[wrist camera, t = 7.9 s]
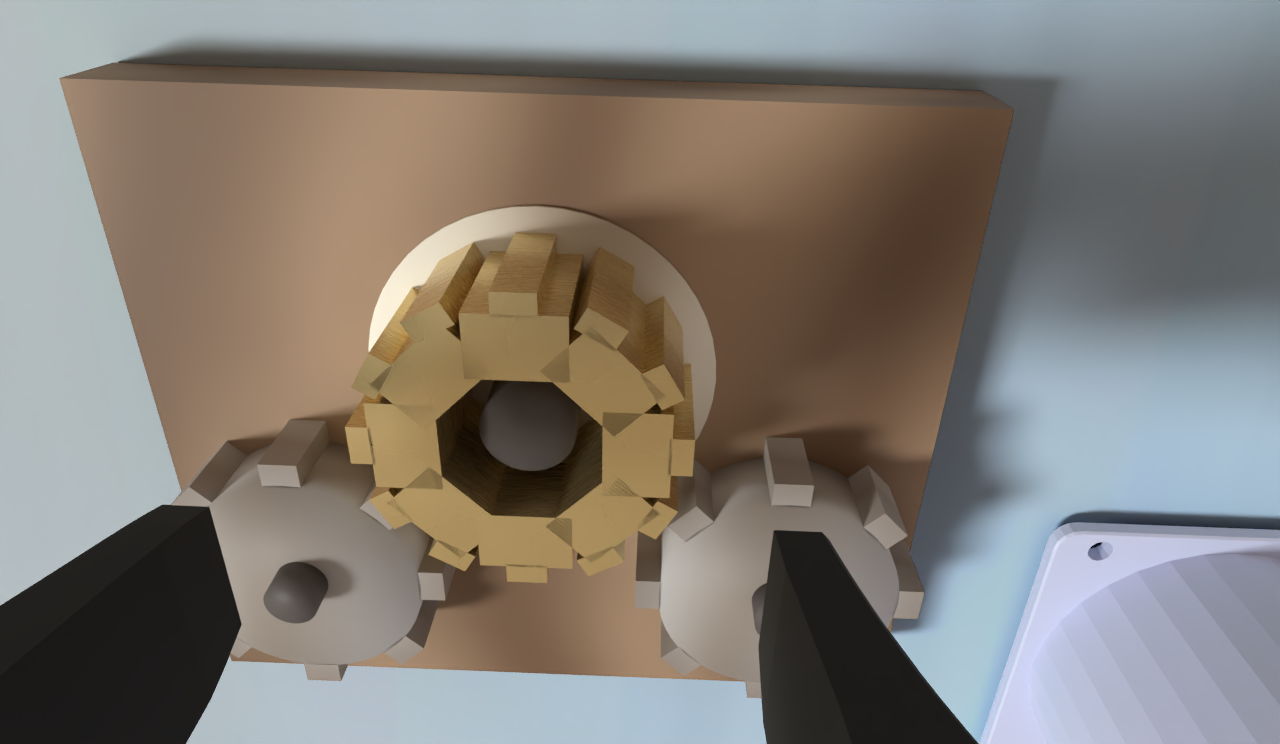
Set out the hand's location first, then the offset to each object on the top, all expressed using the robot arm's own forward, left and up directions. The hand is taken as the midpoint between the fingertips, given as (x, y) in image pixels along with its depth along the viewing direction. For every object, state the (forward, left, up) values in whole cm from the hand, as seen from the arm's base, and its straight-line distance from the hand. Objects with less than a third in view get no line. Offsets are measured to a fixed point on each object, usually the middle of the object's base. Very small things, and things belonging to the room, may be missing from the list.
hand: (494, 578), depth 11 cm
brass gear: (0, 0, -5) cm, 5 cm away
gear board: (0, +1, -7) cm, 7 cm away
